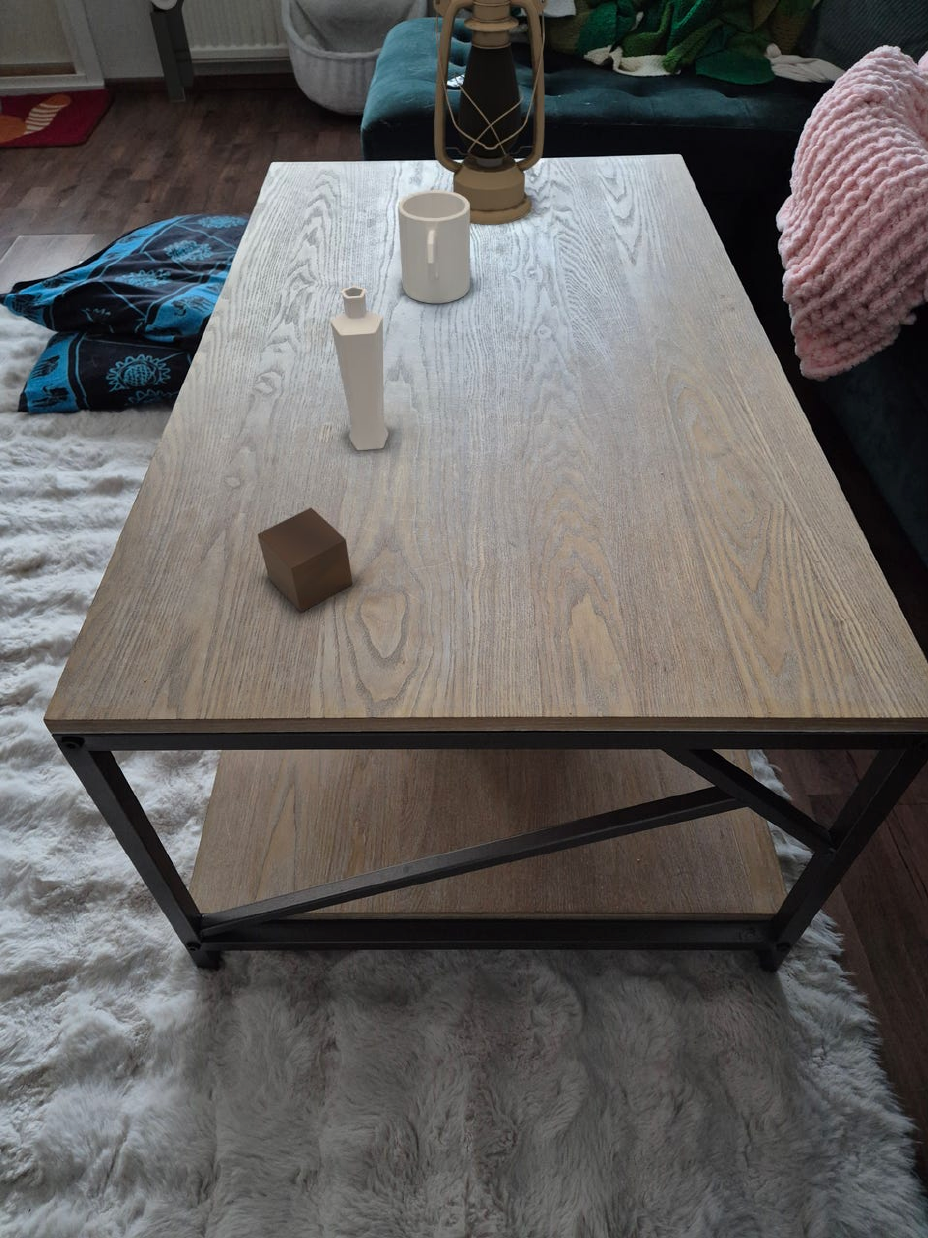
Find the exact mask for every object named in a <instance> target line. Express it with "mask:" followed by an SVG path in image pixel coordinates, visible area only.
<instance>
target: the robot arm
mask: <svg viewBox="0 0 928 1238" xmlns="http://www.w3.org/2000/svg"><path fill="white" fill-rule="evenodd" d="M184 2H185V0H148V12H149V18H150V22H151V26H152V30H153V34H154V35H153V36H154V38H155V43H156V47H157V52H158V56H159V60H160V65H161V69H162V73H163V77H164V82H165V85H166V91H167V95H168V98H169V101H170V103H181V102H186V96H185V90H184V88H190V87H191V88H193V87H194V81H195V69H194V68H195V67H194V63H193V58H192V53H191V49H190V43H189V38H188V35H187V30H186V29H187V28H186V25H185V19H184V15H183V4H184ZM2 111H3V107H2V102H1V100H0V115H1V114H2Z"/></svg>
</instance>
